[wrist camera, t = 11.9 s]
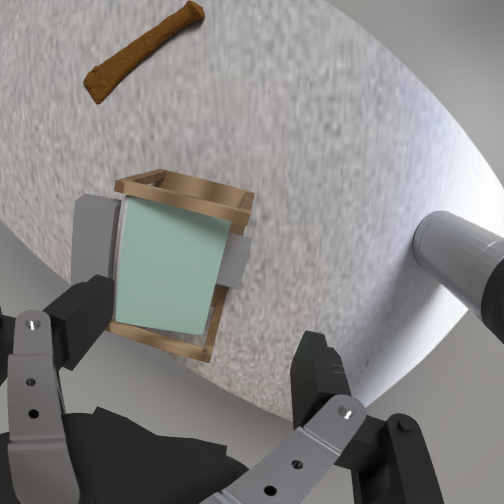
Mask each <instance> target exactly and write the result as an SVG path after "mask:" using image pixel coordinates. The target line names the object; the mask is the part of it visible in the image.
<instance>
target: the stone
mask: <svg viewBox="0 0 504 504" xmlns="http://www.w3.org/2000/svg"><path fill="white" fill-rule="evenodd" d="M250 245H251V238H248V237H244V236H240V235H237V234H233V233H230V232H229V233H228V237H227V241H226V245H225V248H224V252H223V256H222V260H221V264H220V268H219V272H218V276H217V280H216V284H220V285H224V286H227V287H231V288H235V289H239V286H240V283H241V279H242V276H243V273H244V269H245V266H246V262H247V259H248V255H249V252H250Z"/></svg>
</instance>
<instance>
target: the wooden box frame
mask: <svg viewBox="0 0 504 504" xmlns="http://www.w3.org/2000/svg"><path fill="white" fill-rule="evenodd" d="M153 182H156V186H155V187H153V186H149V185H147V184H150V183H153ZM114 191H116V192H120V193H124V194H128V195H132V196H136V197H140V198H144V199H147V200H151V201H155V202H159V203H163V204H167V205H171V206H175V207H179V208H182V209H186V210H190V211H194V212H198V213H201V214H205V215H209V216H213V217H216V218H220V219H224V220H227V221H231V226H230V229H229V232H230V233H233V234H237V235H240V236H243V232H244V229H245V225H246V226H247V224H248V221H249V217H250V213H251V208H252V203H253V198H254V193H253V192H249V191H246V190H242V189H238V188H235V187H231V186H227V185H223V184H219V183H216V182H212V181H208V180H204V179H200V178H196V177H192V176H188V175H184V174H179V173H175V172H171V171H167V170H162V169H158V170H154V171H150V172H146V173H142V174H138V175H134V176H131V177H127V178H123V179H119V180H116V182H115V188H114ZM227 290H228V287H227V286H224V285H220V284H215V288H214V292H213V296H212V300H211V305H215V306H216V307H215V310H214V314H213V317H212V321H211V324H210V328H209V331H208V335H207V338H206V342H205V345H204V347H200V346H197V345H193V344H190V343H186V342H183V341H179V340H176V339H173V338H169V337H166V336H163V335H160V334H156V333H153V332H150V331H147V330H144V329H141V328H138V327H135V326H132V325H129V324H126V323H121V322H116V320H114V319H113V316H112V319H111V322H110V324H109V325H108V326H107V328H106V329H105V330H106V331H109V332H112V333H115V334H117V335H120V336H123V337H126V338H129V339H132V340H134V341H137V342H140V343H143V344H146V345H149V346H153V347H156V348H159V349H162V350H165V351H168V352H172V353H175V354H178V355H182V356H185V357H189V358H192V359H196V360H199V361H203V362H207V363H210V359H211V355H212V351H213V347H214V342H215V338H216V334H217V330H218V326H219V322H220V318H221V314H222V309H223V305H224V301H225V298H226V294H227Z"/></svg>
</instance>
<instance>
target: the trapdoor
mask: <svg viewBox="0 0 504 504" xmlns="http://www.w3.org/2000/svg"><path fill="white" fill-rule="evenodd" d="M120 207H121V200H117V199H112V198H106V197H100V196H95V195H89V194H84V195H83V196H81V197H80V198H79V199H77V200H76V201H75V210H74V222H73V236H72V257H71V287H72V286H73V285H75V284H78V283H81V282H83V281H84V282H87V281H88V280H90V279H91V278H92V277H93V276H94V275H96V274H99V275H102V276H105V277H108V278H111V279H112V276H113V264H114V254H115V245H116V236H117V228H118V221H119V213H120ZM230 226H231V221H227V220H224V219H220V218H216V217H213V216H209V215H205V214H201V213H198V212H194V211H190V210H186V209H182V208H179V207H175V206H171V205H167V204H163V203H159V202H155V201H151V200H147V199H144V198H140V197H136V196H132V195H126V197H125V203H124V209H123V216H122V223H121V230H120V238H119V247H118V256H117V266H116V277H115V290H114V307H113V319H114V320H116V322H121V323H126V324H132V325H137V326H143V327H149V328H155V329H162V330H168V331H175V332H182V333H189V334H196V335H203V332H204V328H205V324H206V320H207V316H208V312H209V308H210V304H211V300H212V296H213V292H214V288H215V284H216V280H217V276H218V272H219V268H220V264H221V260H222V256H223V252H224V248H225V245H226V241H227V237H228V233H229V229H230Z"/></svg>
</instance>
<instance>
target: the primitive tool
mask: <svg viewBox="0 0 504 504" xmlns="http://www.w3.org/2000/svg"><path fill="white" fill-rule="evenodd" d="M204 19H205V14H204V11H203V7H201V6H199V5H198V4H196V3H195V2H193V1H190V0H189V1H188V2H187V3H186V4H185V5H184V7H183V8H181V9H180V10H179V11H177V12H176V13H174V14H173V15H171V16H169V17H167V18H166V19H165V20H163V21H162V22H161V23H160V24H159V25H157V26H156V27H154V28H153V29H151V30H150V31H148V32H146V33H144V35H142V36H141V37H139V38H138V39H136V40H135V41H134V42H132V43H130V44H129V45H128V46H127V47H125V48H124V49H122V50H121V51H119V52H118V53H116V54H115V55H114V56H112V57H111V58H110V59H108V60H106V61H105V62H104V63H102V64H100V66H95V67H94V68H93V70H92V71H91V72H89V73H88V74H87V76H86V78H85V79H84V85H85V86H86V89H87V91H88V92H89V94H90V95H91V97H92V98H93V100H94V101H95V102H96V104H100V103H101V102H102V101H103V100H104V99H105V98H106V97H107V96H108V95H109V94H110V93H111V92H112V91H113V90H114V88H115V87H116V86H117V85H118V84H119V83H120V82H121V81H122V80H123V78H124V77H125V76H126V75H127V74H128V73H129V72H131V71H132V70H133V69H134V68H135V67H136V66H137V65H138V64H139V63H140V62H141V61H142V60H143V59H145V58H146V57H147V56H148V55H149V54H150V53H151V52H153V51H154V50H155V49H156V48H158V47H159V46H160V45H161V44H162V43H163V42H164V41H166V40H167V39H168V38H169V37H171V36H172V35H174V34H175V33H176V32H178V31H179V30H181V29H183V28H184V27H185V26H187V25H189V24H190V23H192V22H194V21H196V20H204Z"/></svg>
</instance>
